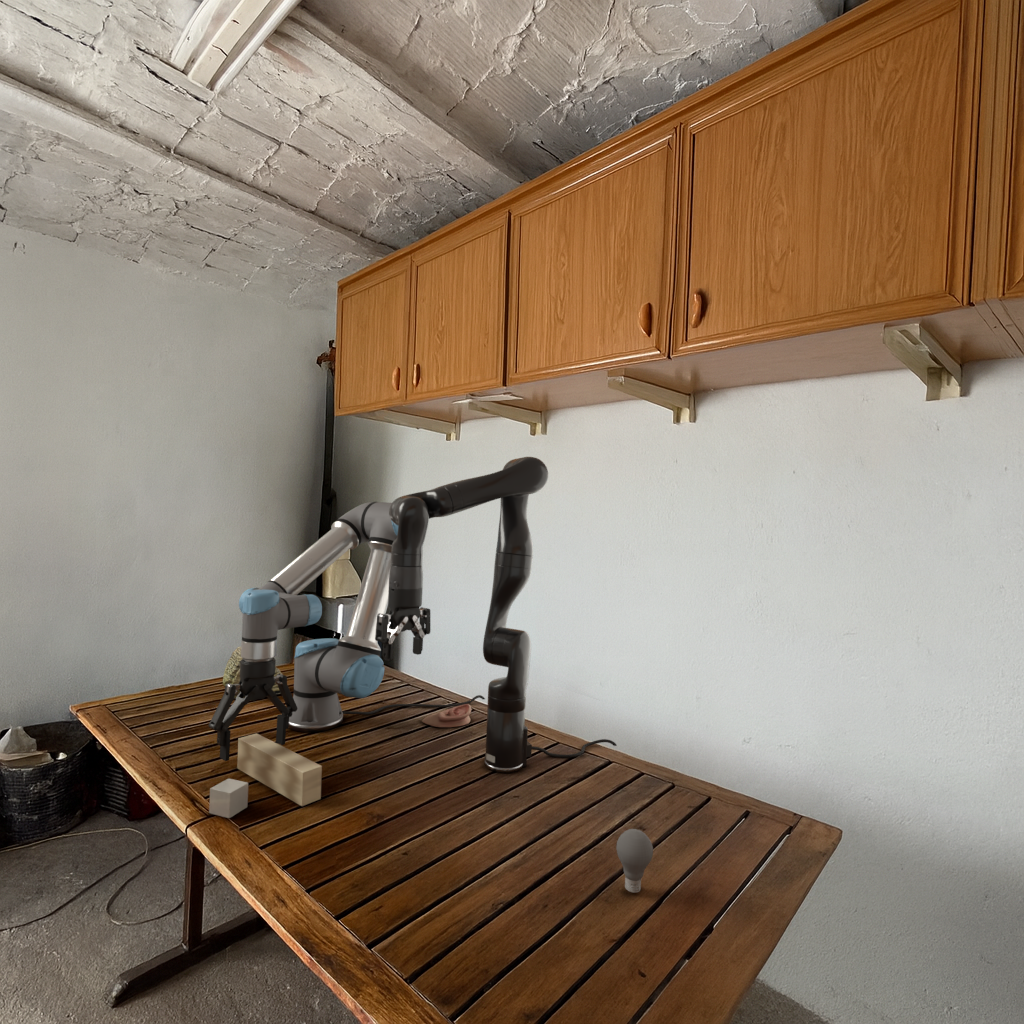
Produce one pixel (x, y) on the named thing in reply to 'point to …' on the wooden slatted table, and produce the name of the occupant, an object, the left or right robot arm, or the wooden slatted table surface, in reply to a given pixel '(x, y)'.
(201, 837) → the wooden slatted table surface
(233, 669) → the fossil
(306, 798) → the ash bar
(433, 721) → the anatomical model
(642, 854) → the light bulb
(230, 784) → the grey block
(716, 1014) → the wooden slatted table surface
